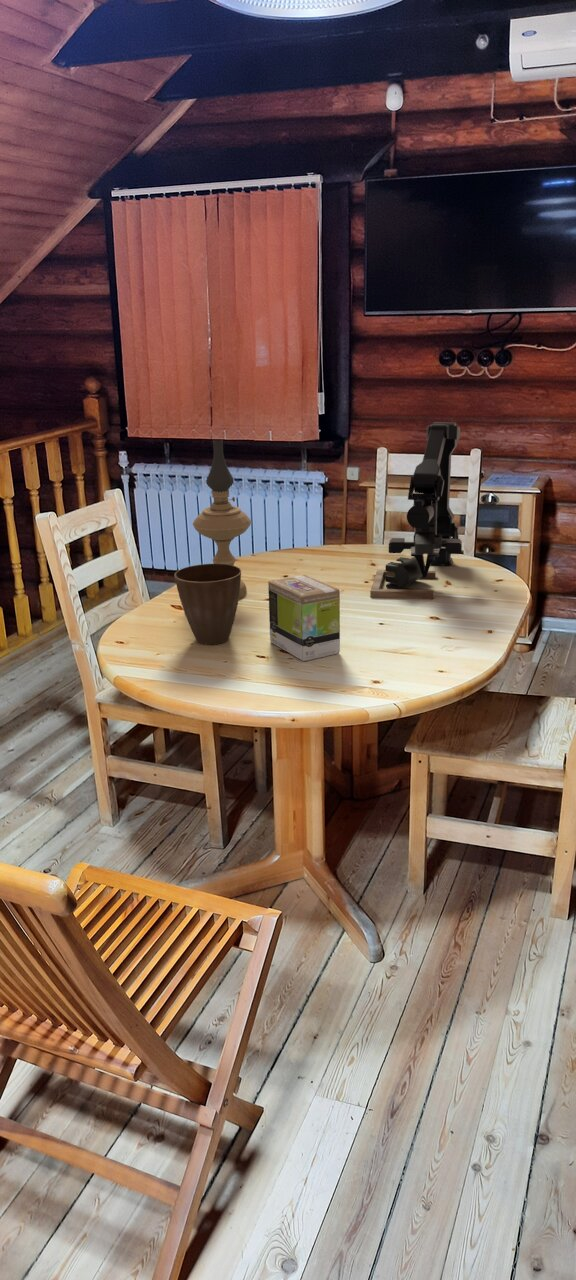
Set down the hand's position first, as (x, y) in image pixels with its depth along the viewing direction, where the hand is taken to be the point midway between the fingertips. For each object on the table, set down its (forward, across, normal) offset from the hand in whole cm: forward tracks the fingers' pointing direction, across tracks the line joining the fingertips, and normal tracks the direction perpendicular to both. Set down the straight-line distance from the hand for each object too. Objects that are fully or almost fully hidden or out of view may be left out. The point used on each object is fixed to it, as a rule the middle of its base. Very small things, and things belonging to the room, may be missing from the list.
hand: (424, 577), depth 248 cm
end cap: (+3, -5, +2) cm, 6 cm away
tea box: (+3, -25, -48) cm, 54 cm away
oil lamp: (+3, -52, -10) cm, 53 cm away
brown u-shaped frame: (+3, -4, 0) cm, 5 cm away
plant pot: (+3, -47, -44) cm, 65 cm away
